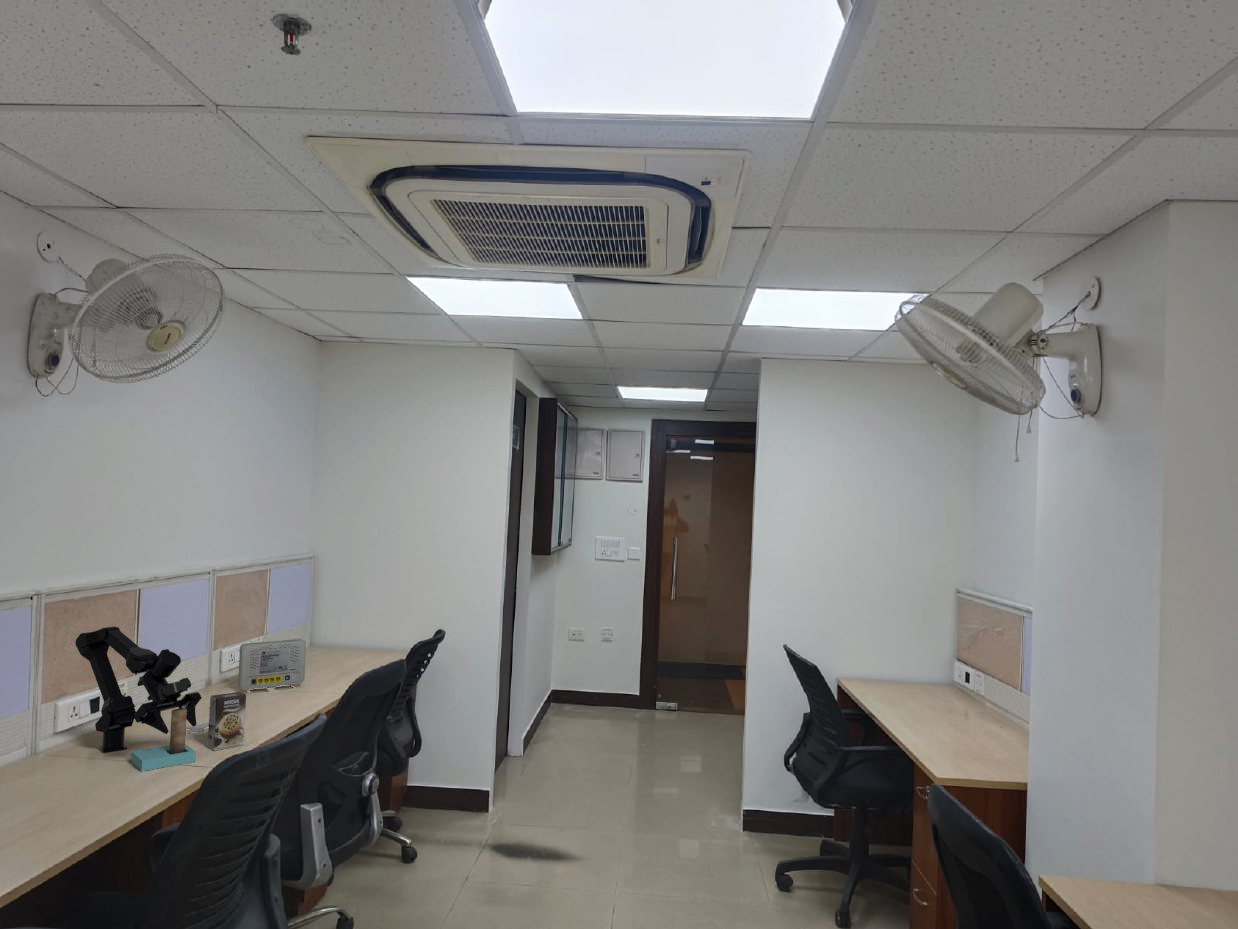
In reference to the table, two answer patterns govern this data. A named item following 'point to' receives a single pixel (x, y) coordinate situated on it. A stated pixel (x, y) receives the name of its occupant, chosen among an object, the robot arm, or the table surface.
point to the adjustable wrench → (197, 727)
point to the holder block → (161, 757)
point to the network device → (271, 663)
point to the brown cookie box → (226, 721)
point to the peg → (178, 731)
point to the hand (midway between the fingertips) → (181, 729)
